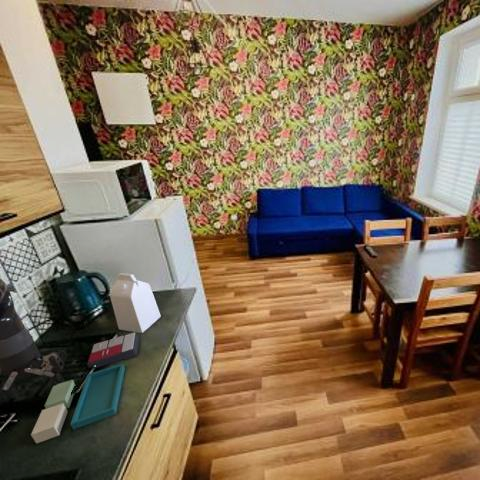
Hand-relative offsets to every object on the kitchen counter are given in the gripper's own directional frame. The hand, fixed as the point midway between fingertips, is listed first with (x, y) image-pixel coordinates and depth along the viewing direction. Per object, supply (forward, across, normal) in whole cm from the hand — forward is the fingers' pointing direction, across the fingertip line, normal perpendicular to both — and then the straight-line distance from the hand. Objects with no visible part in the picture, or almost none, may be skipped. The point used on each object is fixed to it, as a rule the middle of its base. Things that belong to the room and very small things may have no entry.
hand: (37, 389), depth 77 cm
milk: (+14, +19, +41) cm, 48 cm away
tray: (+14, +11, +4) cm, 18 cm away
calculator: (+14, +12, +24) cm, 31 cm away
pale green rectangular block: (+14, 0, +8) cm, 16 cm away
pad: (+14, 0, -2) cm, 14 cm away
